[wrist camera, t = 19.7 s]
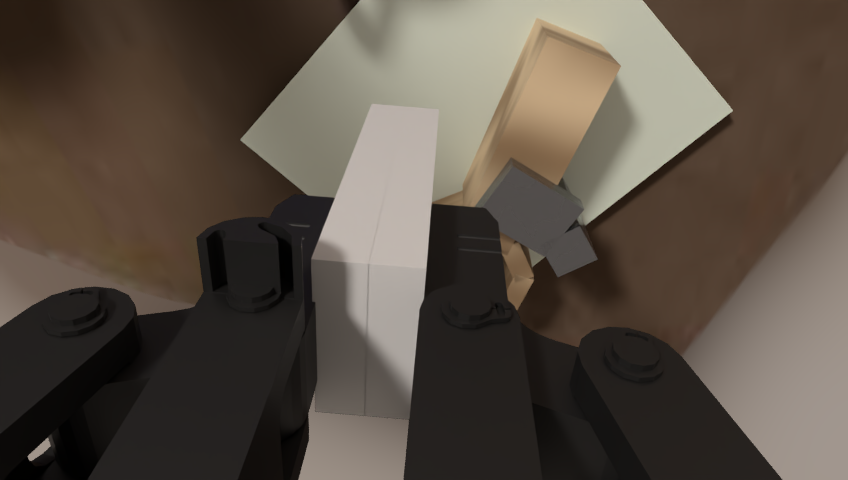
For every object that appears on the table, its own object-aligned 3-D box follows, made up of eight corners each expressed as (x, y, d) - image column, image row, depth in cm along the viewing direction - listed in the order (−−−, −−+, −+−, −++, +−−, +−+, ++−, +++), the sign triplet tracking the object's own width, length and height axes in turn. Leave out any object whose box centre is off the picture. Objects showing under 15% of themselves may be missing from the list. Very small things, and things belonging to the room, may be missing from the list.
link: (512, 7, 34) (520, 25, 30) (624, 53, 35) (647, 76, 31) (404, 262, 43) (398, 304, 39) (497, 293, 44) (501, 338, 40)
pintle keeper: (402, 207, 42) (390, 280, 34) (514, 103, 38) (529, 159, 30) (477, 272, 44) (482, 354, 37) (590, 181, 41) (622, 251, 33)
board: (245, 133, 40) (240, 139, 39) (502, -167, 31) (504, -168, 30) (461, 312, 46) (461, 321, 45) (725, 104, 38) (733, 110, 37)
